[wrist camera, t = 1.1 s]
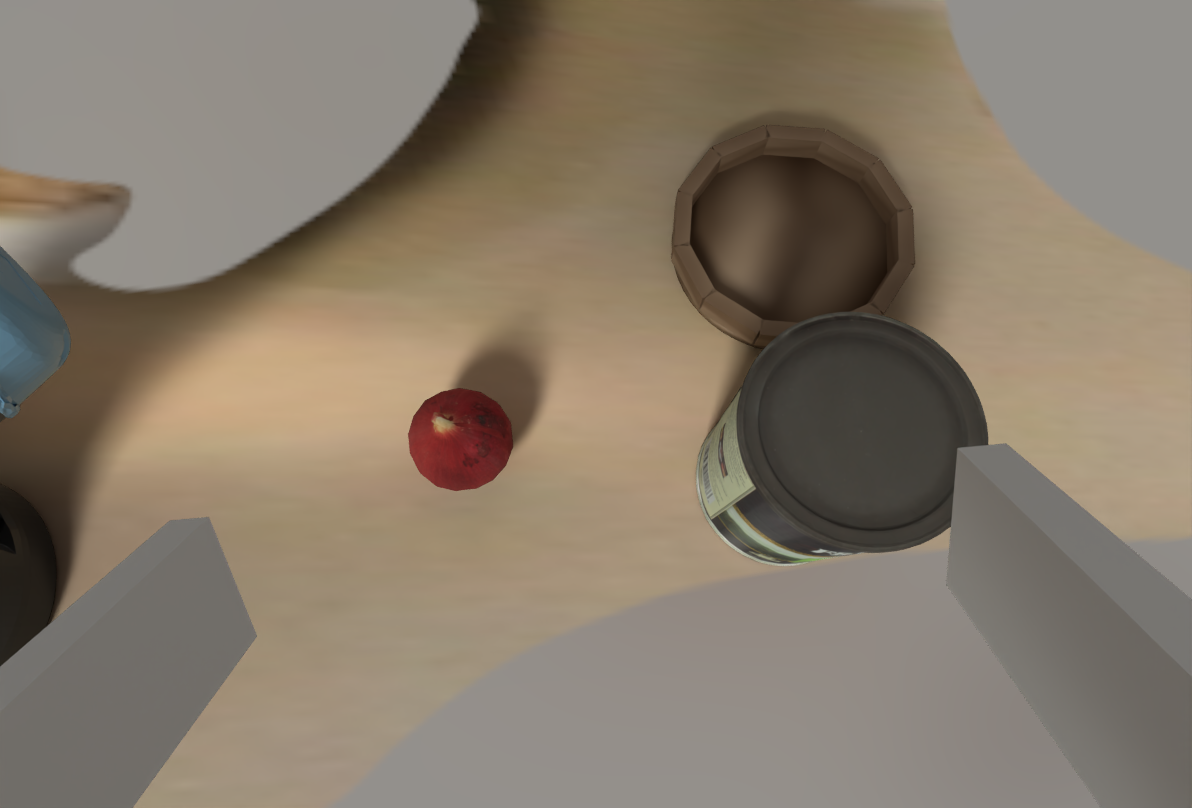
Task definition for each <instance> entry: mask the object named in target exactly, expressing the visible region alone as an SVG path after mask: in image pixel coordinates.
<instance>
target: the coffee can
mask: <svg viewBox="0 0 1192 808" xmlns="http://www.w3.org/2000/svg"><path fill="white" fill-rule="evenodd" d="M984 445H988V431H987V423H986V419H985V415H984V411H983V408H982V405H981V402H980V399H979V397H978V395H977V393H976V391H975V389H974V387H973V385H972V383H971V381H970V380H969V378H968V376H967V375H966V373H965V372H964V371H963V369H962V368H961V367H960V365H959V364H958V363H957V362H956V361H955V360H954V358H953V357H952V356H951V355H950V354H949V353H948V352H947V351H946V350H945V349H943V348H942V347H941V346H940V345H939V344H938V343H937V342H935V341H934V340H933V339H931V338H930V337H928V336H927V335H925V334H924V333H922V332H920V331H919V330H917V329H915V328H913V327H912V326H909V325H907V324H905V323H902V322H900V321H897V320H895V319H892V318H888V317H885V316H881V315H877V314H871V313H863V312H837V313H829V314H824V315H819V316H816V317H813V318H809V319H807V320H804V321H802V322H799V323H797V324H795V325H793V326H792V327H790V328H788V329H786V330H785V331H783V332H782V333H780V334H779V335H778V336H777V337H776V338H775V339H774V340H772V341H771V342H770V343H769V344H768V345H767V346H766V347H765V348H764V349H763V350H762V352H761V353H760V354H759V355H758V357H757V358H756V360H755V361H754V363H753V364H752V366H751V368H750V370H749V372H748V374H747V376H746V378H745V380H744V383H743V385H742V387H741V388H740V389H739V391H738V393H737V394H736V396H735V397H734V399H733V400H732V402H731V404H730V405H729V407H728V408H727V410H726V411H725V413H724V414H723V415H722V417H721V419H720V420H719V421H718V423H717V425H716V426H715V427H714V428H713V429H712V431H711V432H710V433H709V435H708V436H707V438H706V440H705V442H704V443H703V445H702V448H701V450H700V453H699V456H698V461H697V468H696V487H697V493H698V498H699V502H700V505H701V507H702V510H703V512H704V514H705V517H706V519H707V521H708V522H709V524H710V525H711V527H712V528H713V529H714V531H715V532H716V533H717V534H718V536H719V537H720V538H721V539H722V540H723V541H724V542H725V543H727V544H728V545H729V546H730V547H732V548H733V549H734V550H736V551H737V552H739V553H741V554H742V555H744V556H746V557H748V558H750V559H753V560H755V561H757V562H761V563H764V564H769V565H776V566H793V565H801V564H805V563H809V562H812V561H816V560H821V559H827V558H833V557H839V556H846V555H853V554H860V553H882V552H892V551H899V550H903V549H907V548H910V547H913V546H917V545H920V544H922V543H924V542H926V541H929V540H931V539H932V538H934V537H936V536H938V535H940V534H941V533H942V532H944V531H945V530H946V529H948V528H949V527H951V520H952V508H953V496H954V484H955V472H956V460H957V448H963V447H973V446H984Z"/></svg>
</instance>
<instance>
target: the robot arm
mask: <svg viewBox="0 0 1192 808" xmlns="http://www.w3.org/2000/svg"><path fill="white" fill-rule="evenodd" d="M70 347H71V338H70V333H69V329H68V327H67V324H66V322H65V320H64V319H63V317H62V315H61V314H60V312H59V310H58V309H57V308H56V306H55V305H54V304H53V302H52V301H51V300H50V299H49V297H48V296H47V295H46V294H45V293H44V291H43V290H42V289H41V288H40V287H39V286H38V285H37V283H36V282H35V281H34V280H33V279H32V278H31V277H30V276H29V275H28V274H27V273H26V272H25V271H24V270H23V269H22V268H21V267H20V265H19V264H18V263H17V262H16V261H15V260H14V259H13V258H12V257H11V256H10V255H9V254H8V253H7V252H6V251H5V250H4V249H3V248H2V247H1V246H0V422H1V421H2V420H4V419H5V418H6V417H7V418H13V417H14V416H15V415H17V414H18V412H19V411H20V404H21V403H22V402H23V401H24V400H25V399H27V398H28V397H29V396H30V395H31V394H32V393H33V392H34V391H35V390H36V389H37V388H39V387H40V386H41V385H42V384H43V383H44V382H45V381H46V380H47V379H48V378H49V377H51V376H52V375H53V374H54V373H55V372H56V371H57V370H58V369H59V368H60V367H61V366H62V365H63V363H64V362H65V360H66V359H67V357H68V355H69V352H70ZM946 585H947V586H948V588H949V590H950V591H951V593H952V594H953V595H954V597H955V598H956V600H957V601H958V602H959V604H960V606H961V607H962V608H963V610H964V611H965V612H966V614H967V616H968V617H969V619H970V620H971V621H972V623H973V624H974V626H975V627H976V629H977V630H978V631H979V633H980V634H981V636H982V637H983V639H984V640H985V642H986V643H987V644H988V646H989V647H990V649H991V650H992V651H993V653H994V655H995V656H996V657H997V659H998V660H999V662H1000V663H1001V664H1002V666H1003V668H1004V669H1005V670H1006V672H1007V673H1008V675H1009V676H1010V678H1011V679H1012V681H1013V682H1014V683H1015V685H1016V686H1017V688H1018V689H1019V691H1020V692H1021V694H1022V695H1023V696H1024V698H1025V699H1026V701H1027V702H1028V704H1029V705H1030V706H1031V708H1032V709H1033V711H1034V712H1035V714H1036V715H1037V717H1038V718H1039V719H1040V721H1041V722H1042V724H1043V725H1044V727H1045V728H1046V730H1047V731H1048V732H1049V734H1050V735H1051V737H1052V738H1053V740H1054V741H1055V742H1056V744H1057V745H1058V747H1059V748H1060V749H1061V751H1062V753H1063V754H1064V756H1065V757H1066V758H1067V760H1068V761H1069V763H1070V764H1071V765H1072V767H1073V768H1074V770H1075V771H1076V773H1077V774H1078V776H1079V777H1080V779H1081V780H1082V781H1083V783H1084V784H1085V786H1086V787H1087V789H1088V790H1089V792H1090V793H1091V794H1092V796H1093V797H1094V799H1095V800H1096V802H1097V803H1098V805H1099V806H1100V807H1101V808H1192V599H1191V598H1189V597H1188V596H1187V595H1186V594H1185V593H1184V592H1182V591H1181V590H1180V589H1179V588H1178V587H1176V586H1175V585H1174V584H1173V583H1172V582H1170V581H1169V580H1168V579H1167V578H1166V577H1164V576H1163V575H1162V574H1161V573H1160V572H1158V571H1157V570H1156V569H1155V568H1154V567H1153V566H1151V565H1150V564H1149V563H1148V562H1147V561H1145V560H1144V559H1143V558H1142V557H1140V556H1139V555H1138V554H1137V553H1136V552H1135V551H1134V550H1132V549H1131V548H1130V547H1129V546H1128V545H1126V544H1125V543H1124V542H1123V541H1122V540H1120V539H1119V538H1118V537H1117V536H1116V535H1114V534H1113V533H1112V532H1111V531H1110V530H1109V529H1107V528H1106V527H1105V526H1104V525H1103V524H1101V523H1100V522H1099V521H1098V520H1097V519H1095V518H1094V517H1093V516H1092V515H1091V514H1089V513H1088V512H1087V511H1086V510H1085V509H1084V508H1082V507H1081V506H1080V505H1079V504H1078V503H1076V502H1075V501H1074V500H1073V499H1072V498H1070V497H1069V496H1068V495H1067V494H1066V493H1064V492H1063V491H1062V490H1061V489H1060V488H1059V487H1057V486H1056V485H1055V484H1054V483H1053V482H1051V481H1050V480H1049V479H1048V478H1047V477H1045V476H1044V475H1043V474H1042V473H1041V472H1039V471H1038V470H1037V469H1036V468H1035V467H1034V466H1032V465H1031V464H1030V463H1029V462H1028V461H1026V460H1025V459H1024V458H1023V457H1022V456H1020V455H1019V454H1018V453H1017V452H1016V451H1014V450H1013V449H1012V448H1011V447H1010V446H1009V445H1007V444H995V445H984V446H973V447H963V448H957V460H956V472H955V484H954V496H953V508H952V520H951V532H950V544H949V556H948V567H947V580H946ZM55 588H56V562H55V554H54V549H53V545H52V541H51V538H50V536H49V533H48V531H47V528H46V526H45V524H44V522H43V521H42V519H41V517H40V516H39V515H38V513H37V512H36V510H35V509H34V508H33V507H32V506H31V505H30V504H29V503H28V502H27V501H26V500H25V499H24V498H23V497H21V496H20V495H19V494H18V493H16V492H14V491H13V490H11V489H10V488H8V487H6V486H4V485H1V484H0V808H133V806H134V805H135V804H136V802H137V801H138V799H139V798H140V797H141V795H142V794H143V793H144V791H145V790H146V788H147V787H148V786H149V784H150V783H151V782H152V780H153V779H154V777H155V776H156V775H157V773H158V772H159V771H160V769H161V768H162V766H163V765H164V764H165V762H166V761H167V759H168V758H169V757H170V755H171V754H172V753H173V751H174V750H175V748H176V747H177V746H178V744H179V743H180V742H181V740H182V739H183V737H184V736H185V735H186V733H187V732H188V731H189V729H190V728H191V726H192V725H193V724H194V722H195V721H196V720H197V718H198V717H199V715H200V714H201V713H202V711H203V710H204V709H205V707H206V706H207V704H208V703H209V702H210V700H211V699H212V698H213V696H214V695H215V693H216V692H217V691H218V689H219V688H220V687H221V685H222V684H223V682H224V681H225V680H226V678H227V677H228V676H229V674H230V673H231V671H232V670H233V669H234V667H235V666H236V665H237V663H238V662H239V660H240V659H241V658H242V656H243V655H244V653H245V652H246V651H247V649H248V648H249V647H250V645H251V644H252V642H253V641H254V640H255V638H256V637H257V635H256V632H255V630H254V627H253V625H252V622H251V620H250V618H249V615H248V613H247V610H246V608H245V605H244V603H243V600H242V598H241V595H240V593H239V590H238V588H237V585H236V583H235V580H234V578H233V575H232V573H231V571H230V568H229V566H228V563H227V561H226V558H225V556H224V553H223V551H222V548H221V546H220V543H219V541H218V538H217V536H216V533H215V531H214V529H213V526H212V524H211V521H210V519H209V517H204V518H193V519H182V520H171V521H169V522H167V523H166V524H165V525H164V526H163V527H162V528H161V529H159V530H158V531H157V532H156V533H155V534H154V535H152V536H151V537H150V538H149V539H148V540H147V541H145V542H144V543H143V544H142V545H141V546H140V547H138V548H137V549H136V550H135V551H134V552H133V553H131V554H130V555H129V556H128V557H127V558H126V559H125V560H123V561H122V562H121V563H120V564H119V565H118V566H116V567H115V568H114V569H113V570H112V571H111V572H109V573H108V574H107V575H106V576H105V577H104V578H102V579H101V580H100V581H99V582H98V583H97V584H96V585H94V586H93V587H92V588H91V589H90V590H89V591H87V592H86V593H85V594H84V595H83V596H82V597H80V598H79V599H78V600H77V601H76V602H75V603H73V604H72V605H71V606H70V607H69V608H68V609H67V610H65V611H64V612H63V613H62V614H61V615H60V616H58V617H57V618H56V619H55V620H54V621H53V622H51V623H50V624H49V625H48V626H47V623H48V620H49V617H50V613H51V610H52V606H53V601H54V596H55ZM46 626H47V627H46Z"/></svg>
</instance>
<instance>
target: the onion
mask: <svg viewBox="0 0 1192 808" xmlns="http://www.w3.org/2000/svg"><path fill="white" fill-rule="evenodd" d="M408 437H409V448H410V454H411V456H412V458H413V460H414V462H415V464H416V466H417V468H418V470H419V472H420V473H421V474H422V475H423V476H424V477H426V478H427V479H428V480H429V481H431V482H432V483H433V484H434V485H436V486H437V487H441V488H445V489H450V490H454V491H459V490H467V489H476V488H478V487H480V486H482V485H484V484H486V483H488V482H490V481H492V480H493V479H494V478H495V477H496V476H497V475H498V474H499V473H500V472H501V471H502V469H503V468H504V467H505V466H506V464H507V462H508V459H509V456H510V454H511V451H512V448H513V439H512V430H511V422H510V420H509V419H508V417H507V416H506V414H505V413H504V411H503V409H502V408H501V406H500V405H499V404H498V403H497V402H496V401H494V400H492V399H491V398H489V397H487V396H486V395H484V394H483V393H481V392H477V391H472V390H467V389H461V388H457V389H453V390H448V391H443V392H440V393H438V394H436V395H435V396H433V397H431V398H429V399H427V400H425V401H424V403H423V404H422V405H421V407H420V408H419V410H418V411H417V412H416V414H415V415H414V416H413V420H412V423H411V426H410V430H409V433H408Z"/></svg>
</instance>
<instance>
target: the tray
mask: <svg viewBox="0 0 1192 808" xmlns="http://www.w3.org/2000/svg"><path fill="white" fill-rule="evenodd" d="M878 159H879V158H877V157H875V156H874V155H872V154H870V153H868V152H866V151H865V150H863V149H861V148H859V147H858V146H856V145H854V144H852V143H850V142H849V141H847V140H845V139H843V138H841V137H840V136H838V135H836V134H834V133H832V132H831V131H829V130H827V131H826V132H825V129H818V128H804V127H790V126H776V125H766V128H765V126H764V125H763V126H761V127H758V128H756V129H754V130H751V131H749V132H746V133H744V134H741V135H739V136H736V137H734V138H732V139H729V140H727V141H724V142H722V143H719V144H717V145H714V146H712V148H710V149H709V150H708V152H707V153H706V154H705V156H704V157H703V158H702V160H701V161H700V162H699V163H698V165H697V166H696V167H695V169H694V170H693V171H692V173H691V174H690V175H689V176H688V178H687V179H686V180H685V182H684V183H683V184H682V186H681V187H680V188H679V189H678V192H677V197H676V203H675V211H674V225H673V234H672V253H671V259H672V263H673V264H674V267H675V271H676V274H677V277H678V280H679V282H680V284H681V286H682V288H683V291H684V292H685V294H686V295H687V297H688V299H689V300H690V302H691V303H692V304H693V306H694V307H695V308H696V309H697V310H698V312H699V313H700V314H701V315H702V316H703V317H704V318H705V319H707V320H708V321H709V322H710V323H711V324H712V325H714V326H715V327H716V328H718V329H719V330H720V331H722V332H723V333H725V334H727V335H729V336H730V337H732V338H734V339H736V340H738V341H740V342H743V343H745V344H748V345H750V346H754V347H757V348H761V349H764V348H765V347H766V346H767V345H768V344H769V343H770V342H771V341H772V340H774V339H775V338H776V337H777V336H778V335H779V334H780V333H782V332H783V331H785V330H786V329H788V328H790V327H792V326H793V325H795V324H797V323H799V322H802V321H804V320H807V319H809V318H813V317H816V316H819V315H824V314H829V313H837V312H863V313H871V314H877V315H881V316H882V315H883V314H884V313H885V311H886V309H887V308H888V306H889V305H890V303H891V302H892V300H893V299H894V297H895V295H896V294H897V292H898V291H899V289H900V288H901V286H902V285H903V283H904V281H905V280H906V278H907V277H908V275H909V274H910V272H911V271H912V269H913V267H914V266H913V265H914V264H915V252H914V225H913V209H911V208H912V206H911V205H910V203H909V202H908V200H907V199H906V197H905V196H904V194H903V193H902V191H901V190H900V188H899V187H898V185H897V184H896V182H895V181H894V179H893V178H892V176H891V175H890V173H889V172H888V170H887V169H886V167H885V166H884V164H883V163H882V161H881V160H879V161H877V160H878Z"/></svg>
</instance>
